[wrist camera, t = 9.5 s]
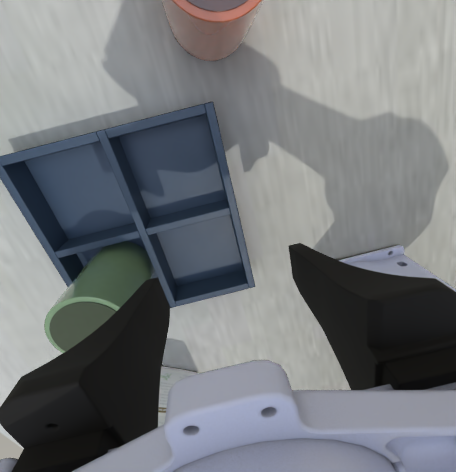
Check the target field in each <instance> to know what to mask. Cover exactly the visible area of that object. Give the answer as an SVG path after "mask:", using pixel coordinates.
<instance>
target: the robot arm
mask: <svg viewBox="0 0 456 472" xmlns="http://www.w3.org/2000/svg"><path fill="white" fill-rule="evenodd" d="M289 252H290V259H291V267H292V274H293V279H294V281H295V283H296V285H297V288H298V290H299V292H300V294H301V295H302V297H303V298H304V300H305V302H306V303H307V305H308V306H309V308H310V309H311V311H312V313H313V314H314V316H315V317H316V319H317V320H318V322H319V324H320V325H321V327H322V329H323V331H324V332H325V334H326V336H327V339H328V341H329V343H330V345H331V347H332V349H333V351H334V353H335V355H336V357H337V359H338V361H339V363H340V366H341V368H342V370H343V372H344V374H345V377H346V379H347V381H348V383H349V386H350V388H351V390H292V389H291V386H290V383H289V380H288V377H287V374H286V372H285V371H284V369H283V368H282V366H281V365H279V364H277V363H274V362H272V361H269V360H255V361H250V362H245V363H241V364H237V365H233V366H228V367H224V368H220V369H216V370H211V371H207V372H203V373H199V374H195V375H190V376H188V377H186V378H184V379H181V380H179V381H177V382H176V383H175V384H174V385H173V387H172V388H171V389H170V390H169V392H168V400H167V408H166V416H165V424H164V425H162V426H160V427H158V408H159V389H160V376H161V366H162V359H163V354H164V349H165V344H166V338H167V333H168V327H169V316H170V306H169V304H168V301H167V299H166V296H165V294H164V291H163V289H162V286H161V284H160V281H159V279H158V277H156V278H152V279H148V280H146V281H145V282H144V283H143V284H142V285H141V286H140V287H139V288H138V289H137V290H136V291H135V293H134V294H133V295H132V296H131V297H130V298H129V299H128V300H127V301H126V302H125V303H124V304H123V305H122V306H121V307H120V308H119V309H118V310H117V311H116V312H115V313H114V314H113V315H112V316H111V317H110V318H109V319H108V320H107V321H106V322H105V323H104V324H102V325H101V326H100V327H99V328H98V329H96V330H95V331H94V332H93V333H91V334H90V335H89V336H87V337H86V338H85V339H83V340H82V341H81V342H79V343H78V344H76V345H75V346H74V347H72V348H71V349H69V350H68V351H66V352H64V353H63V354H61V355H60V356H58V357H56V358H55V359H53V360H51V361H50V362H48V363H46V364H44V365H43V366H41V367H39V368H37V369H35V370H34V371H32V372H30V373H28V374H26V375H24V376H22V377H21V378H20V380H19V381H18V383H17V384H16V386H15V387H14V388H13V390H12V391H11V393H10V394H9V396H8V397H7V398H6V400H5V401H4V403H3V404H2V406H1V407H0V424H1V425H2V426H3V428H4V429H5V430H6V431H7V432H8V433H9V434H10V435H11V436H12V437H13V438H14V439H15V440H16V441H17V442H18V443H19V444H20V445H21V446H22V447H23V448H24V450H23V452H22V454H21V455H20V457H19V459H15V458H5V459H1V460H0V472H456V290H455V289H454V288H453V287H452V286H450V285H449V284H447V283H446V282H444V281H443V280H441V279H440V278H438V277H437V276H435V275H434V274H432V273H431V272H429V271H428V270H426V269H425V268H423V267H422V266H420V265H419V264H417V263H416V262H414V261H413V260H411V259H410V258H408V257H407V256H405V255H404V247H403V246H401V245H397V246H393V247H389V248H385V249H381V250H377V251H373V252H369V253H365V254H361V255H357V256H353V257H349V258H345V259H341V260H335V259H333V258H331V257H328V256H326V255H324V254H322V253H319V252H317V251H315V250H313V249H311V248H309V247H307V246H305V245H303V244H301V243H298V244H294V245H290V246H289ZM389 252H390V253H389Z"/></svg>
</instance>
